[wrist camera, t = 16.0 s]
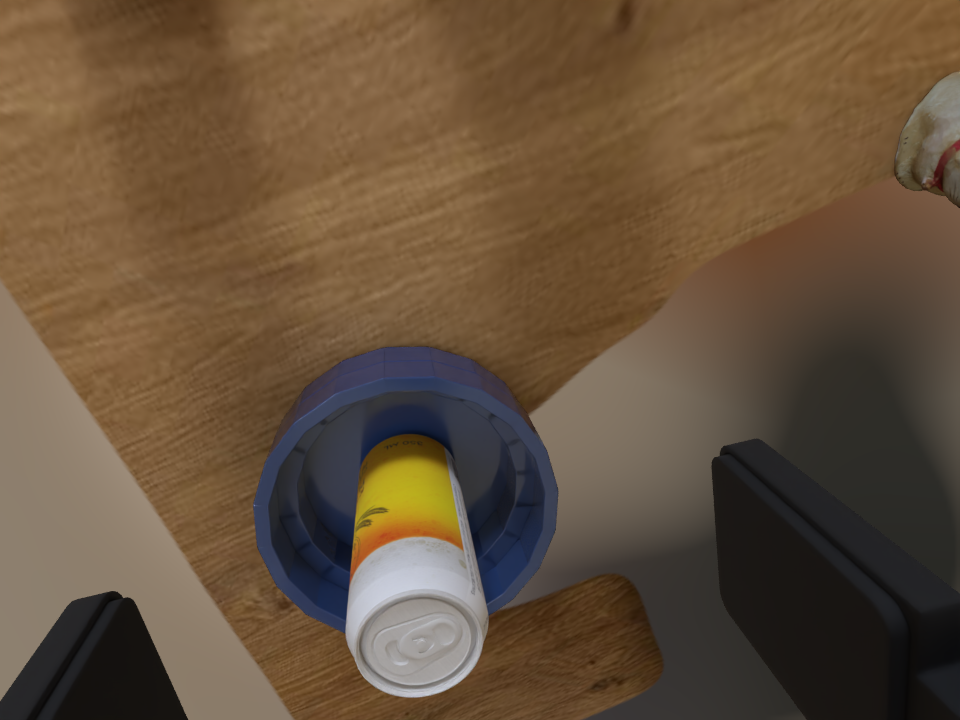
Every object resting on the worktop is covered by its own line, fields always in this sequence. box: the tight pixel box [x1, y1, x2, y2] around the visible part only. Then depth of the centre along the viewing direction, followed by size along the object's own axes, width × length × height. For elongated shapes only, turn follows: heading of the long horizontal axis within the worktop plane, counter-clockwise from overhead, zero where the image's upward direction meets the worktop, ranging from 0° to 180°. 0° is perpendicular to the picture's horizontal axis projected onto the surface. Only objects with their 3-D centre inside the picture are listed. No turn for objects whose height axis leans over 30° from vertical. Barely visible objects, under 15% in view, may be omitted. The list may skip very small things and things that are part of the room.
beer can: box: [345, 434, 489, 698], centre depth 33 cm, size 6×6×15 cm
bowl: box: [253, 347, 558, 634], centre depth 38 cm, size 17×17×6 cm
